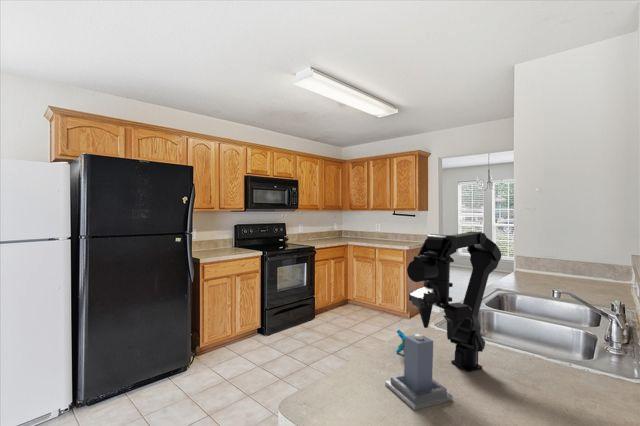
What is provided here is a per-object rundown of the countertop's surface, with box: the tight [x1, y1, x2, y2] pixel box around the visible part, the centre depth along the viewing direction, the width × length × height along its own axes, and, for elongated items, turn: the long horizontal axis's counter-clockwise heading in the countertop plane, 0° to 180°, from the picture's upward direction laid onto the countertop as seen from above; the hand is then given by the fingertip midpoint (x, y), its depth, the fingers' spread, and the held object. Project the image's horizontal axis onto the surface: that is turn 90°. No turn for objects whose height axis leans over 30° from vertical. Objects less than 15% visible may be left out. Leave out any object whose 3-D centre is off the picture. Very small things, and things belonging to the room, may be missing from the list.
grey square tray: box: [384, 373, 454, 411], centre depth 83 cm, size 12×12×2 cm
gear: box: [395, 329, 406, 354], centre depth 107 cm, size 11×6×10 cm
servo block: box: [403, 333, 434, 394], centre depth 83 cm, size 5×5×14 cm
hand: (437, 333), depth 90 cm, fingers open, 9 cm apart
